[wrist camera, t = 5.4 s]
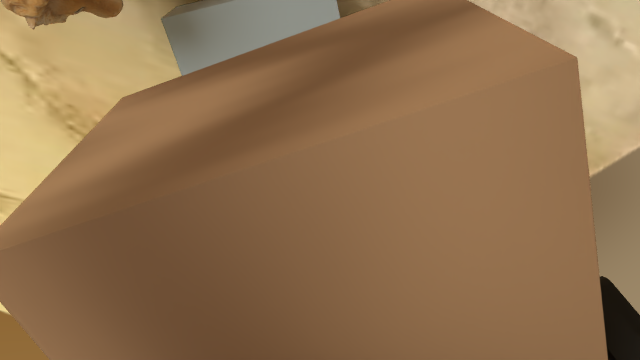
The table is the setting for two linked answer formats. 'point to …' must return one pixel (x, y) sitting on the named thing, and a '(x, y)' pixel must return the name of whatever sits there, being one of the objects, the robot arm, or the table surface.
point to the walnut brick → (326, 205)
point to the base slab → (238, 27)
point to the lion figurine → (60, 9)
